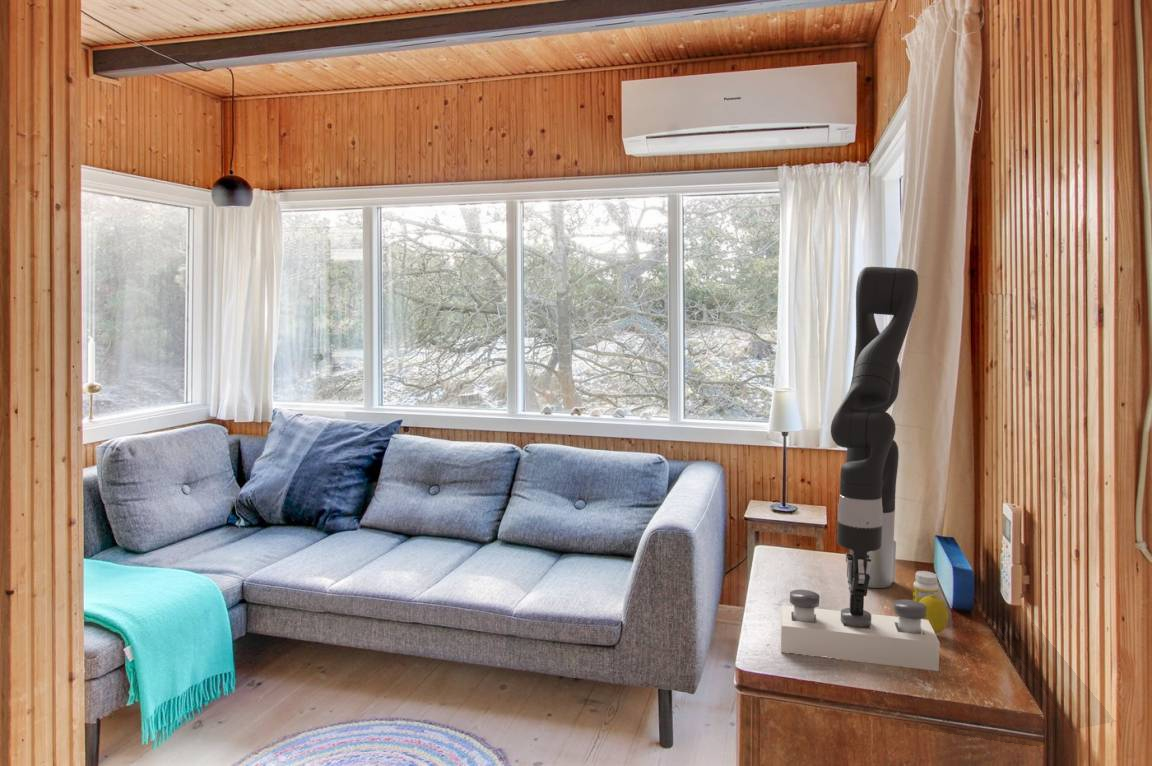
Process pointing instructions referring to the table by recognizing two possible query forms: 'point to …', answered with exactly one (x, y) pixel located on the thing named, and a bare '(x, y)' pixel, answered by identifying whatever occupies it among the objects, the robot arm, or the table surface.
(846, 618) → the knob middle
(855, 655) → the knob panel
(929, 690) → the table surface
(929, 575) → the supplement bottle
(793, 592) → the knob
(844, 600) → the table surface
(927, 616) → the lemon
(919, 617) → the knob
